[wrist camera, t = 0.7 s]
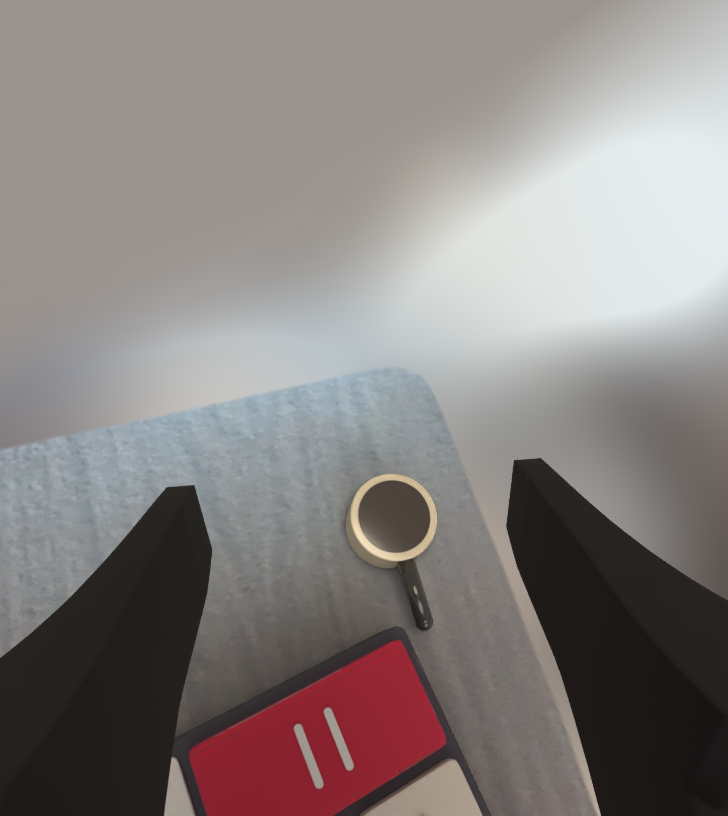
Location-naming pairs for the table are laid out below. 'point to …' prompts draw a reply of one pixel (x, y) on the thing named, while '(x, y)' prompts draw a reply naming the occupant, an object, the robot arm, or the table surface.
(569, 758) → the table surface
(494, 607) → the table surface
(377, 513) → the pan
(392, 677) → the calculator
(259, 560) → the table surface
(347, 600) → the table surface
